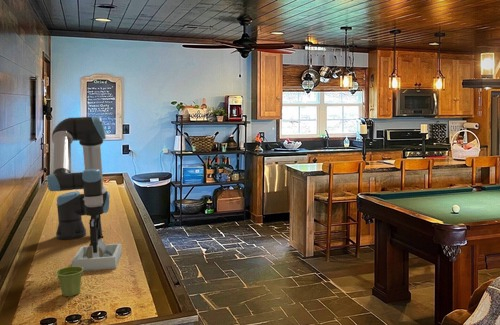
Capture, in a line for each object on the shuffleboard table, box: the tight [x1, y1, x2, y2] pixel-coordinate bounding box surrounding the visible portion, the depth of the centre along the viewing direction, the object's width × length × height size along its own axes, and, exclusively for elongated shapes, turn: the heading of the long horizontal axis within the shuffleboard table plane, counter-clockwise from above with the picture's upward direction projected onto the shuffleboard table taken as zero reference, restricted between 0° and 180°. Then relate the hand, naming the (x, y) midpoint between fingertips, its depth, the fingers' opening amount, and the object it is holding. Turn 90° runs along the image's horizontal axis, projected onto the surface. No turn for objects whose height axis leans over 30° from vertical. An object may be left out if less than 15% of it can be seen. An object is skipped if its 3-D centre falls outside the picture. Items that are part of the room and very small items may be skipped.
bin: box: [71, 243, 122, 273], centre depth 202 cm, size 20×17×5 cm
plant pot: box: [55, 265, 84, 297], centre depth 168 cm, size 9×9×9 cm
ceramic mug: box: [86, 240, 113, 258], centre depth 202 cm, size 11×8×8 cm
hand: (97, 256), depth 202 cm, fingers closed on ceramic mug, 8 cm apart
